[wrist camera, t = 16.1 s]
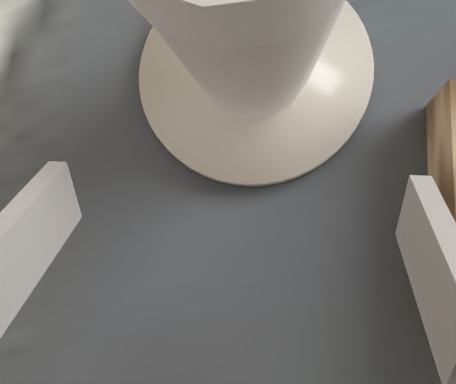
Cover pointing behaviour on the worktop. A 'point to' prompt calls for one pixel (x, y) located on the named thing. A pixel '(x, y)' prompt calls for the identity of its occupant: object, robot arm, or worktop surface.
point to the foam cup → (245, 47)
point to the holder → (443, 142)
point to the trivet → (260, 128)
